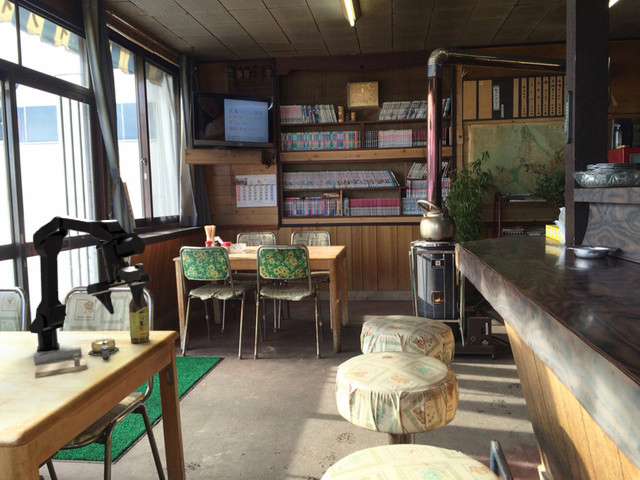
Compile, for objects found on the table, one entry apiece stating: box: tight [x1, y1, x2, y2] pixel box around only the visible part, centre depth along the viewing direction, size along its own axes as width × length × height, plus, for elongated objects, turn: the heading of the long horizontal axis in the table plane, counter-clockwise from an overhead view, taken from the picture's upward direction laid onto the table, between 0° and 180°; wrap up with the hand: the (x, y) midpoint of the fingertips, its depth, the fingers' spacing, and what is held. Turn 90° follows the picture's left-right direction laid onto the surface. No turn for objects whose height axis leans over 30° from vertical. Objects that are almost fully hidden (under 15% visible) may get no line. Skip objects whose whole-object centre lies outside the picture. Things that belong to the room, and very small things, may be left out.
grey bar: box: [33, 346, 83, 365], centre depth 153 cm, size 13×4×3 cm, turn 117°
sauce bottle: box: [128, 284, 150, 344], centre depth 170 cm, size 6×6×20 cm
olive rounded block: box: [90, 338, 116, 359], centre depth 157 cm, size 14×7×3 cm, turn 27°
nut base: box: [88, 346, 120, 357], centre depth 160 cm, size 9×9×1 cm
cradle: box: [34, 354, 88, 378], centre depth 143 cm, size 13×6×3 cm, turn 117°
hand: (125, 310), depth 152 cm, fingers open, 9 cm apart
